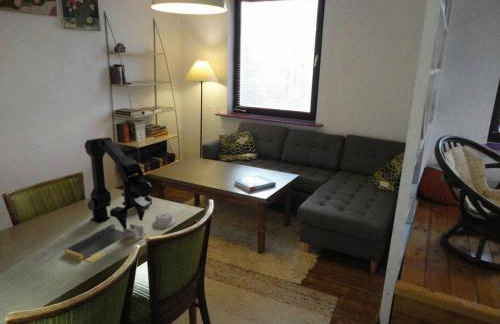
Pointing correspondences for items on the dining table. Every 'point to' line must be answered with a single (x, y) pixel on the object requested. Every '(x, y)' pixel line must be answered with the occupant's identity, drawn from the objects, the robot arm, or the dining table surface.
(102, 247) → the shallow tray
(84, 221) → the dining table surface
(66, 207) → the dining table surface
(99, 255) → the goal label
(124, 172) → the robot arm
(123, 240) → the board
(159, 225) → the mechanical component
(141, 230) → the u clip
